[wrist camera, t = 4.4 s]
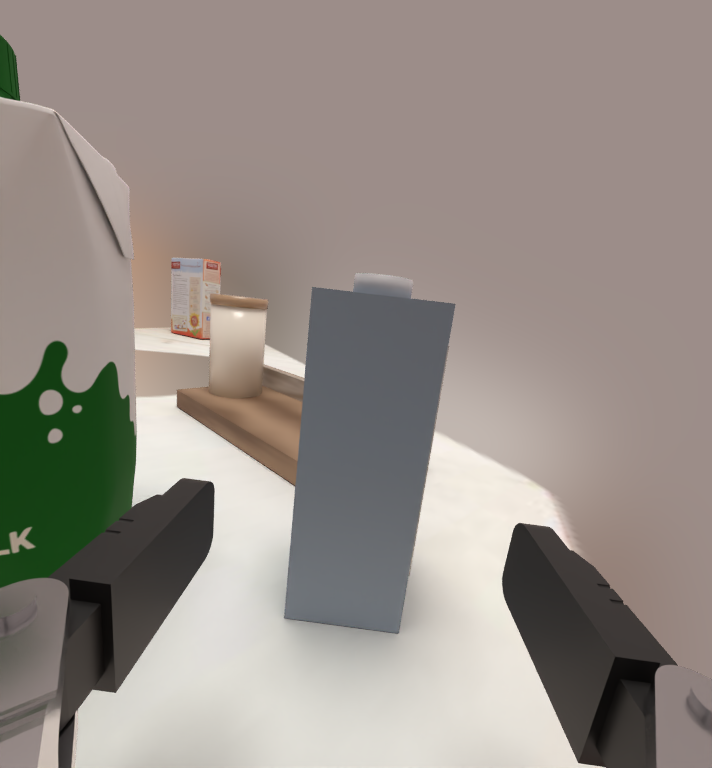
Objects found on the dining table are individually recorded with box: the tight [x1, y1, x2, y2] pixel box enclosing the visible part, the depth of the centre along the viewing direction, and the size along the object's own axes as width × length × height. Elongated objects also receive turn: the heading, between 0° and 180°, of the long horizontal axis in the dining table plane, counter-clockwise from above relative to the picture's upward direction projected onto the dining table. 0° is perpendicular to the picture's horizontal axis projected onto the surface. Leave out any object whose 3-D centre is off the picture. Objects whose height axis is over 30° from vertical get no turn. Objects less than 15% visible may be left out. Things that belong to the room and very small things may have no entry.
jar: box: [209, 293, 268, 398], centre depth 40 cm, size 6×6×11 cm
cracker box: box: [171, 258, 221, 339], centre depth 97 cm, size 14×6×21 cm, turn 58°
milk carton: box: [0, 35, 136, 588], centre depth 14 cm, size 9×9×20 cm
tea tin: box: [284, 273, 455, 633], centre depth 16 cm, size 5×5×15 cm
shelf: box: [177, 364, 305, 486], centre depth 35 cm, size 11×26×4 cm, turn 47°
